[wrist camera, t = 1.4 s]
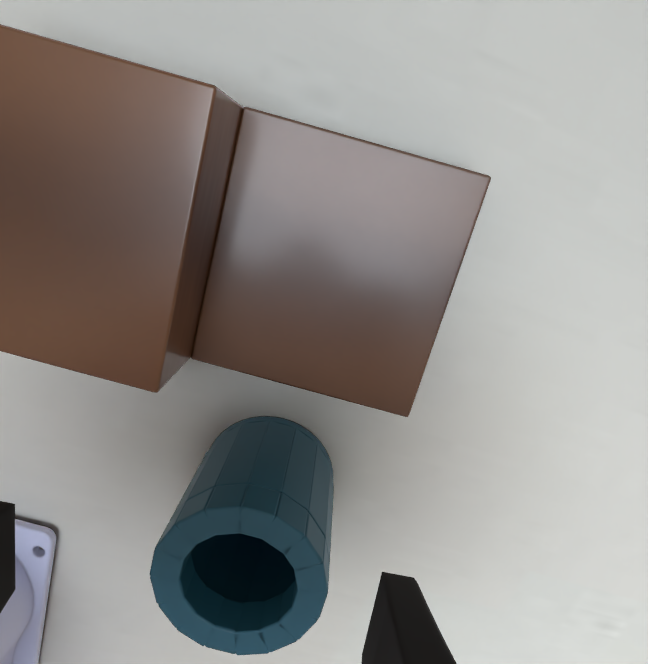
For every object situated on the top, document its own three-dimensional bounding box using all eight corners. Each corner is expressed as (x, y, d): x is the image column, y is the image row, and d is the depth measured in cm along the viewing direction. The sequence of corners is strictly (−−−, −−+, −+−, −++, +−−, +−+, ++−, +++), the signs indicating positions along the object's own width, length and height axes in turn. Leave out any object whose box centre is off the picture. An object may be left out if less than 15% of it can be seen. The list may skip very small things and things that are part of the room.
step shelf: (401, 390, 20) (428, 496, 13) (1, 281, 19) (-188, 332, 12) (472, 177, 17) (550, 172, 11) (23, 50, 17) (-192, -40, 10)
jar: (314, 543, 22) (301, 673, 16) (194, 511, 21) (136, 630, 16) (348, 435, 20) (347, 534, 14) (220, 401, 20) (167, 487, 14)
